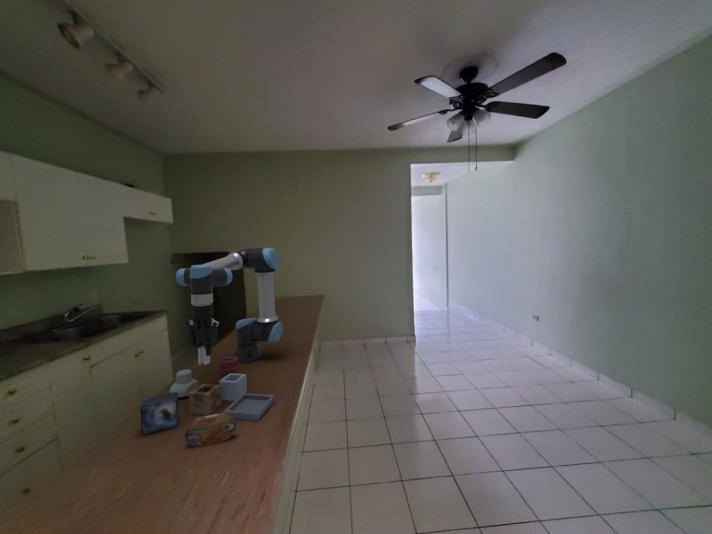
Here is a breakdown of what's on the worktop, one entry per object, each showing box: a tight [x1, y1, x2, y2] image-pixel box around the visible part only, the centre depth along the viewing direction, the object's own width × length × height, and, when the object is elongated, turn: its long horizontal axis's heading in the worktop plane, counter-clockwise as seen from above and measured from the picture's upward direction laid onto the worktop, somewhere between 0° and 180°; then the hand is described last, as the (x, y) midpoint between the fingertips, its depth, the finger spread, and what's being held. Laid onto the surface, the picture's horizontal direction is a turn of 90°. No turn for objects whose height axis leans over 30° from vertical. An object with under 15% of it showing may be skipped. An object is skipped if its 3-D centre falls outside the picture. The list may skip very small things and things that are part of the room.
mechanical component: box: [216, 355, 241, 380], centre depth 134 cm, size 12×10×10 cm
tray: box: [222, 392, 276, 422], centre depth 111 cm, size 14×14×2 cm
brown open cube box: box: [188, 383, 222, 416], centre depth 111 cm, size 8×8×8 cm
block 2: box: [218, 373, 248, 402], centre depth 122 cm, size 8×8×8 cm
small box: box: [139, 392, 180, 436], centre depth 100 cm, size 11×6×10 cm, turn 118°
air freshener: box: [169, 368, 200, 398], centre depth 123 cm, size 11×8×10 cm
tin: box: [184, 412, 237, 447], centre depth 92 cm, size 15×3×8 cm, turn 108°
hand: (204, 363), depth 111 cm, fingers open, 1 cm apart
